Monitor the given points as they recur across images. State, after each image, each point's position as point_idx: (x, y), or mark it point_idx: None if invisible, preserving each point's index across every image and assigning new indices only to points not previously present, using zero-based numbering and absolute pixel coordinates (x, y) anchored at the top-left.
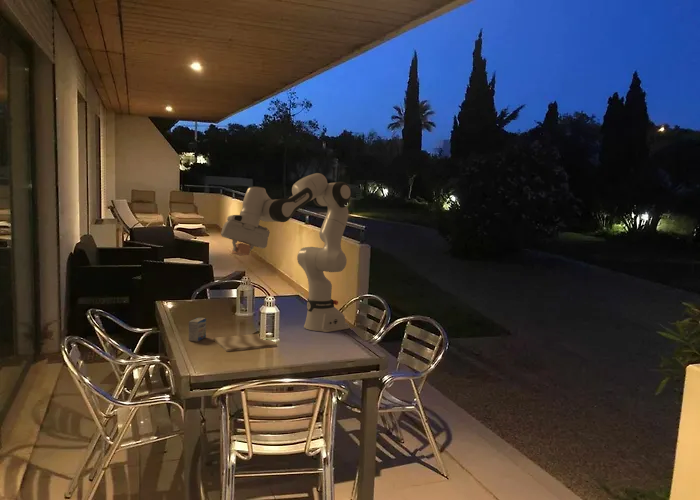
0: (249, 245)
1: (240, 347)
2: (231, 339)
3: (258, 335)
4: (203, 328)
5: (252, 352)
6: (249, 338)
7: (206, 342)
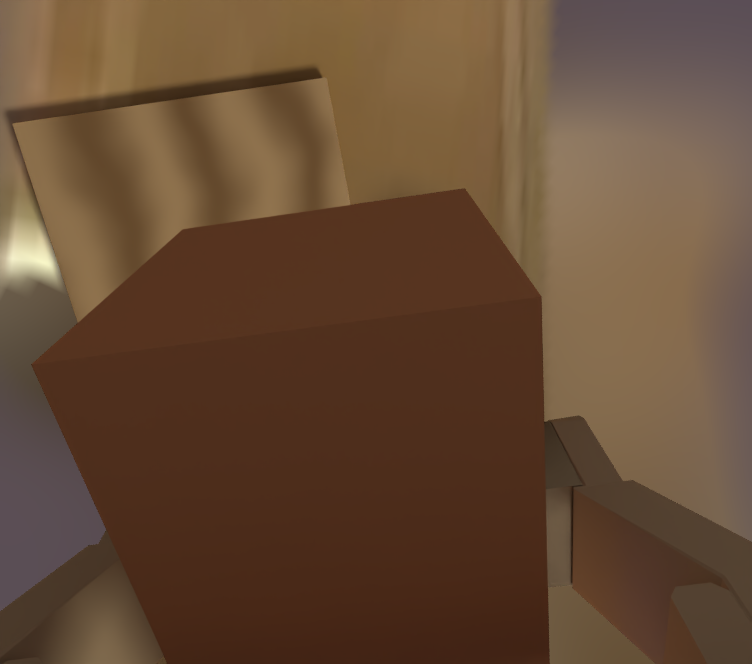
0: (107, 354)
1: (248, 94)
2: None
3: None
4: None
5: (184, 31)
6: None
7: None
